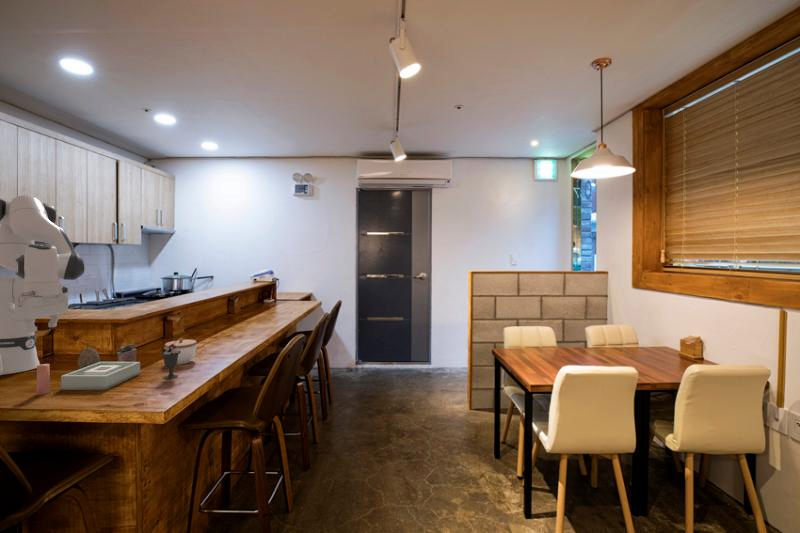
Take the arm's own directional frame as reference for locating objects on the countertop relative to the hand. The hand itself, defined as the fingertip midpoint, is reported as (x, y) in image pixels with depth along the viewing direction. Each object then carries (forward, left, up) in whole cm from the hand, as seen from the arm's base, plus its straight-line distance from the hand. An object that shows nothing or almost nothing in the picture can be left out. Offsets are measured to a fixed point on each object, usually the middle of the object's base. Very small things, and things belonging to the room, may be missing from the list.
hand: (42, 329), depth 128 cm
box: (+11, +13, -23) cm, 28 cm away
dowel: (0, 0, -23) cm, 23 cm away
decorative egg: (-5, +26, -23) cm, 35 cm away
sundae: (+34, +18, -23) cm, 45 cm away
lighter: (+8, +30, -23) cm, 38 cm away
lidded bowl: (+26, +39, -23) cm, 52 cm away
